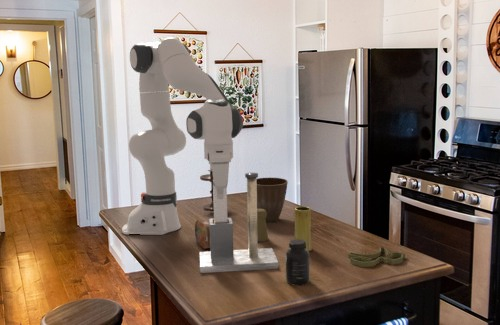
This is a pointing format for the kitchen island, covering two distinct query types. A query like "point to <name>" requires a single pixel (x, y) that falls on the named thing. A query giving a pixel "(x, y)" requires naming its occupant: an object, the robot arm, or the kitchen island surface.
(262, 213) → the olive waisted cylinder
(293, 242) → the supplement bottle
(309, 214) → the vase
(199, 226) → the tin
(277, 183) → the plant pot
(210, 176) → the candlestick
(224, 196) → the column
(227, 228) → the stand
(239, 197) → the kitchen island surface
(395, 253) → the cookie cutter
